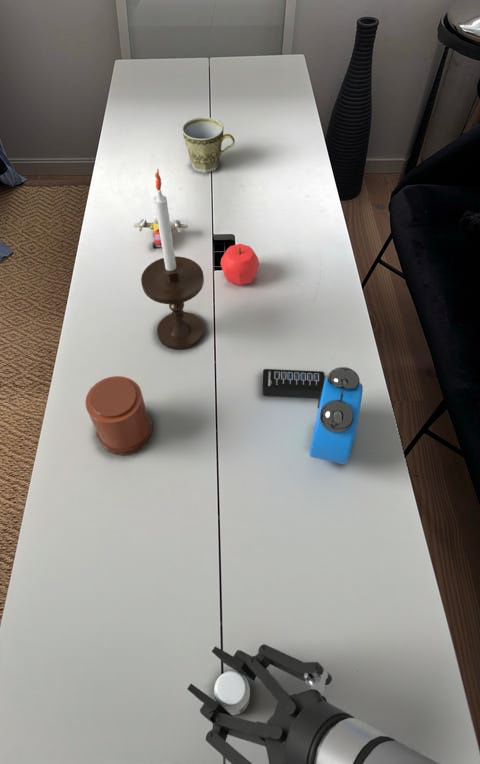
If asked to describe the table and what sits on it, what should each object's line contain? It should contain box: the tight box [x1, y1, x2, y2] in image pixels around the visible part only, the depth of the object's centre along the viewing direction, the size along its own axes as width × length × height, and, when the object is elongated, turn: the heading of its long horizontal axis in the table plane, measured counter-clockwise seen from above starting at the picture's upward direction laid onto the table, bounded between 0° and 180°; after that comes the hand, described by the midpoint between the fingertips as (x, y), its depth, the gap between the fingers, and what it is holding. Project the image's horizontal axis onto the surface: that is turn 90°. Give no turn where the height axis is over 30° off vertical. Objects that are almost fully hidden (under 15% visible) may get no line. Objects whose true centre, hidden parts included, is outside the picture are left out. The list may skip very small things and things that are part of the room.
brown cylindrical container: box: [85, 375, 154, 456], centre depth 90 cm, size 9×9×11 cm
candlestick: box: [140, 168, 205, 351], centre depth 93 cm, size 11×11×35 cm
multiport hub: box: [261, 368, 326, 400], centre depth 98 cm, size 4×11×2 cm, turn 86°
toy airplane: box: [133, 214, 188, 249], centre depth 121 cm, size 9×9×6 cm
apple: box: [220, 243, 260, 286], centre depth 112 cm, size 8×8×8 cm
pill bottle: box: [213, 670, 251, 716], centre depth 68 cm, size 4×4×8 cm
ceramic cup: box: [181, 116, 236, 174], centre depth 135 cm, size 13×10×10 cm
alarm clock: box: [309, 366, 364, 465], centre depth 86 cm, size 13×6×15 cm, turn 165°
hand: (208, 673), depth 69 cm, fingers closed on pill bottle, 4 cm apart
